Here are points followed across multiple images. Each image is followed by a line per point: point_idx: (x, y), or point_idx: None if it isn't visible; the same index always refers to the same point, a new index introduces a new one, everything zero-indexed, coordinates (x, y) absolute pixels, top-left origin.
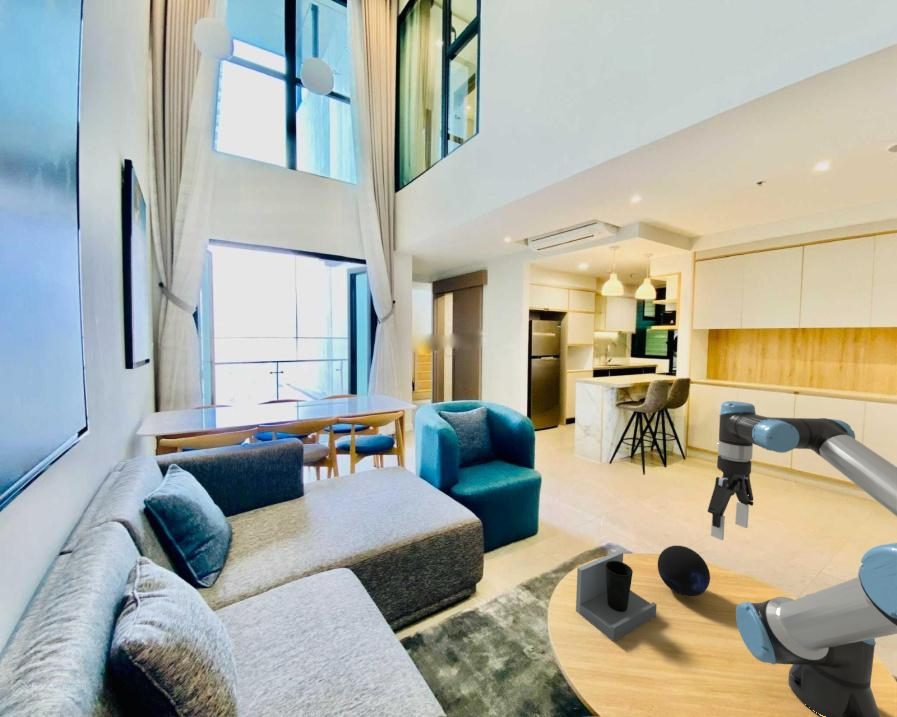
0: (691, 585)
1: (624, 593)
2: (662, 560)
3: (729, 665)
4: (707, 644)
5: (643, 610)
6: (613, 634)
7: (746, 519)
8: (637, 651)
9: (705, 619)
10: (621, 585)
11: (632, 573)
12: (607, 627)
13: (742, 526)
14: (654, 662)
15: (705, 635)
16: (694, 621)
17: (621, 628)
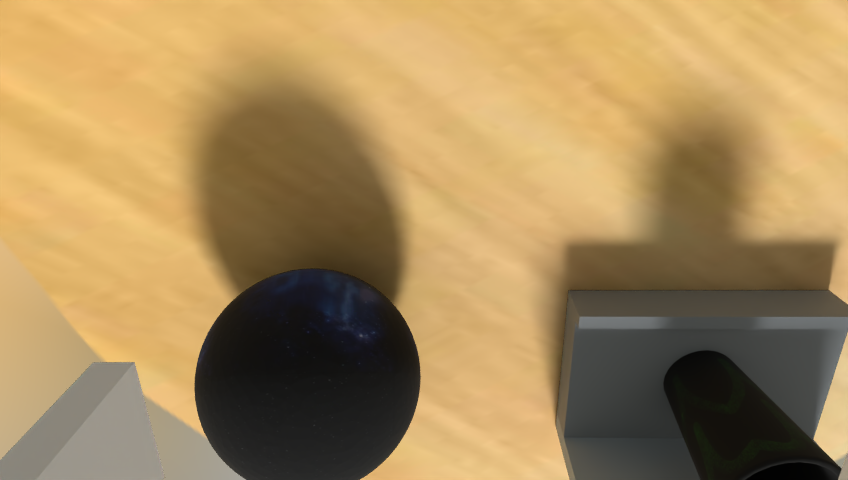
0: (382, 305)
1: (766, 400)
2: (392, 451)
3: (585, 23)
4: (544, 122)
5: (664, 320)
6: (846, 304)
7: (43, 475)
8: (804, 226)
9: (407, 195)
10: (805, 433)
11: (768, 459)
12: (844, 332)
13: (142, 406)
14: (808, 169)
15: (500, 150)
16: (459, 210)
17: (803, 307)
